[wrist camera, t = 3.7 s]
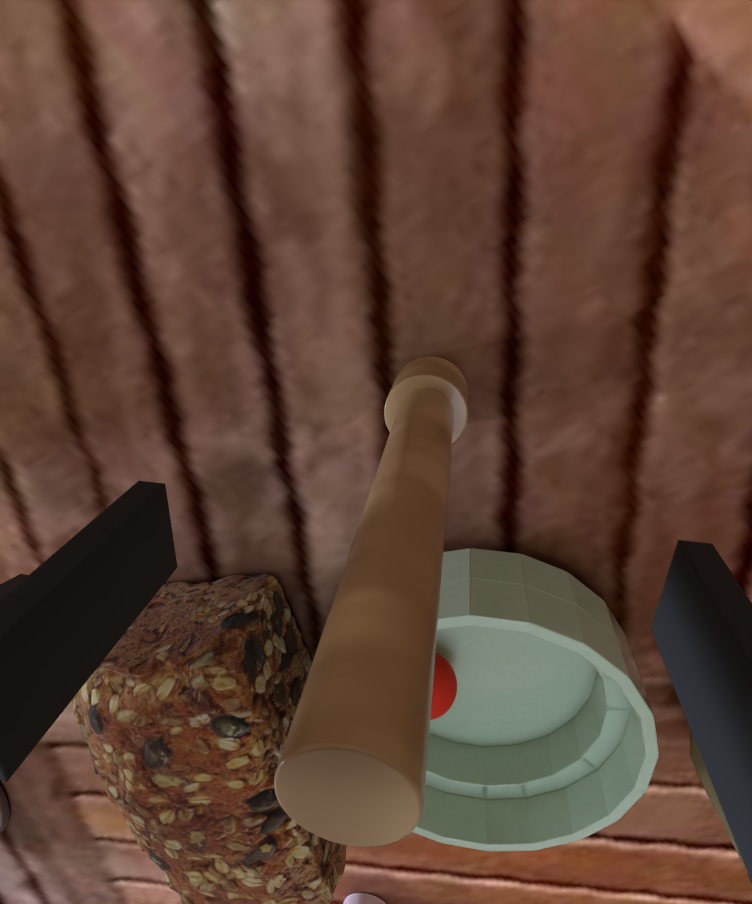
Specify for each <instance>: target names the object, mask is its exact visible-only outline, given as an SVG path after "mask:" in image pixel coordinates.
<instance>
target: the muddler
mask: <svg viewBox="0 0 752 904" xmlns="http://www.w3.org/2000/svg"><path fill="white" fill-rule="evenodd" d="M384 417H385V422H386V425H387V428H388V430H389V432H390V434H389V437H388V440H387V443H386V446H385V449H384V452H383V455H382V458H381V461H380V464H379V467H378V470H377V473H376V476H375V479H374V482H373V485H372V488H371V491H370V493H369V496H368V499H367V502H366V505H365V508H364V511H363V514H362V517H361V520H360V523H359V526H358V529H357V532H356V535H355V538H354V541H353V544H352V547H351V550H350V553H349V556H348V558H347V561H346V564H345V567H344V570H343V573H342V576H341V579H340V582H339V585H338V588H337V591H336V594H335V597H334V600H333V603H332V606H331V609H330V612H329V615H328V618H327V621H326V624H325V626H324V629H323V632H322V635H321V638H320V641H319V644H318V647H317V650H316V653H315V656H314V659H313V662H312V665H311V668H310V671H309V674H308V677H307V680H306V683H305V686H304V689H303V691H302V694H301V697H300V700H299V703H298V706H297V709H296V712H295V715H294V718H293V721H292V724H291V727H290V730H289V733H288V736H287V739H286V742H285V745H284V748H283V751H282V754H281V757H280V759H279V762H278V765H277V768H276V771H275V776H274V788H275V793H276V796H277V799H278V801H279V803H280V805H281V807H282V808H283V809H284V811H285V812H286V813H287V814H288V815H289V816H290V818H292V819H293V820H294V821H295V822H296V823H297V824H299V825H300V826H301V827H303V828H304V829H306V830H308V831H309V832H311V833H313V834H315V835H317V836H319V837H321V838H324V839H326V840H329V841H333V842H336V843H340V844H344V845H350V846H360V847H373V846H381V845H386V844H390V843H393V842H396V841H398V840H400V839H402V838H404V837H405V836H407V835H408V834H410V833H411V832H412V831H413V830H414V829H415V827H416V826H417V824H418V823H419V821H420V819H421V816H422V813H423V806H424V793H425V780H426V768H427V755H428V742H429V729H430V716H431V703H432V690H433V678H434V665H435V652H436V639H437V626H438V613H439V601H440V588H441V575H442V562H443V549H444V536H445V523H446V511H447V498H448V485H449V472H450V459H451V446H452V444H454V443H455V442H456V441H457V440H458V439H459V438H460V437H461V435H462V434H463V432H464V430H465V428H466V425H467V421H468V385H467V382H466V379H465V377H464V375H463V373H462V372H461V371H460V369H459V368H458V367H457V366H455V365H454V364H453V363H451V362H450V361H448V360H445V359H443V358H439V357H434V356H427V357H421V358H417V359H415V360H412V361H411V362H409V363H407V364H406V365H405V366H404V367H403V368H402V369H401V370H400V371H399V372H398V374H397V376H396V378H395V380H394V383H393V385H392V388H391V390H390V393H389V395H388V397H387V400H386V403H385V409H384Z"/></svg>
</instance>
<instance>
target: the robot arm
mask: <svg viewBox="0 0 752 904" xmlns="http://www.w3.org/2000/svg"><path fill="white" fill-rule="evenodd" d="M176 568H177V561H176V554H175V548H174V541H173V534H172V527H171V520H170V514H169V507H168V500H167V493H166V486H165V484H163V483H154V482H145V481H138V482H137V483H136V484H134V485H133V486H132V487H131V488H130V489H129V490H127V491H126V492H125V493H124V494H123V495H122V496H121V497H119V498H118V499H117V500H116V501H115V502H114V503H112V504H111V505H110V506H109V507H108V508H107V509H105V510H104V511H103V512H102V513H101V514H100V515H98V516H97V517H96V518H95V519H94V520H93V521H91V522H90V523H89V524H88V525H87V526H86V527H85V528H83V529H82V530H81V531H80V532H79V533H78V534H76V535H75V536H74V537H73V538H72V539H71V540H69V541H68V542H67V543H66V544H65V545H64V546H62V547H61V548H60V549H59V550H58V551H57V552H56V553H54V554H53V555H52V556H51V557H50V558H49V559H47V560H46V561H45V562H44V563H43V564H42V565H40V566H39V567H38V568H37V569H36V570H35V571H33V572H32V573H31V574H30V575H24V574H20V575H18V576H16V577H14V578H12V579H10V580H8V581H6V582H4V583H2V584H0V780H4V781H8V780H9V778H10V777H11V776H12V775H13V773H14V772H15V771H16V770H17V768H18V767H19V766H20V765H21V763H22V762H23V761H24V760H25V758H26V757H27V756H28V755H29V753H30V752H31V751H32V749H33V748H34V747H35V746H36V744H37V743H38V742H39V741H40V739H41V738H42V737H43V736H44V734H45V733H46V732H47V731H48V729H49V728H50V727H51V726H52V724H53V723H54V722H55V720H56V719H57V718H58V717H59V715H60V714H61V713H62V712H63V710H64V709H65V708H66V707H67V705H68V704H69V703H70V702H71V700H72V699H73V698H74V697H75V695H76V694H77V693H78V692H79V690H80V689H81V688H82V686H83V685H84V684H85V683H86V681H87V680H88V679H89V678H90V676H91V675H92V674H93V673H94V671H95V670H96V669H97V668H98V666H99V665H100V664H101V663H102V661H103V660H104V659H105V657H106V656H107V655H108V654H109V652H110V651H111V650H112V649H113V647H114V646H115V645H116V644H117V642H118V641H119V640H120V639H121V637H122V636H123V635H124V634H125V632H126V631H127V630H128V629H129V627H130V626H131V625H132V623H133V622H134V621H135V620H136V618H137V617H138V616H139V615H140V613H141V612H142V611H143V610H144V608H145V607H146V606H147V605H148V603H149V602H150V601H151V600H152V598H153V597H154V596H155V594H156V593H157V592H158V591H159V589H160V588H161V587H162V586H163V584H164V583H165V582H166V581H167V579H168V578H169V577H170V576H171V574H172V573H173V572H174V571H175V569H176ZM651 631H652V633H653V636H654V638H655V641H656V643H657V646H658V648H659V651H660V653H661V656H662V658H663V661H664V663H665V666H666V668H667V671H668V673H669V676H670V679H671V681H672V684H673V686H674V689H675V691H676V694H677V696H678V699H679V701H680V704H681V706H682V709H683V711H684V714H685V716H686V719H687V721H688V724H689V726H690V729H691V731H692V734H693V737H694V739H695V742H696V744H697V747H698V749H699V752H700V754H701V757H702V759H703V762H704V764H705V767H706V769H707V772H708V774H709V777H710V779H711V782H712V784H713V787H714V789H715V792H716V794H717V797H718V800H719V802H720V805H721V807H722V810H723V812H724V815H725V817H726V820H727V822H728V825H729V827H730V830H731V832H732V835H733V837H734V840H735V842H736V845H737V847H738V850H739V852H740V855H741V858H742V860H743V863H744V865H745V868H746V870H747V873H748V875H749V878H750V880H751V883H752V603H751V601H750V600H749V598H748V597H747V595H746V594H745V592H744V591H743V589H742V588H741V586H740V585H739V583H738V582H737V580H736V579H735V577H734V576H733V574H732V573H731V571H730V570H729V568H728V567H727V565H726V564H725V562H724V561H723V559H722V558H721V556H720V555H719V553H718V552H717V550H716V549H715V547H714V546H713V544H708V543H699V542H690V541H681V540H678V543H677V546H676V549H675V552H674V555H673V559H672V562H671V565H670V568H669V572H668V575H667V578H666V581H665V584H664V588H663V591H662V594H661V597H660V601H659V604H658V607H657V610H656V613H655V617H654V620H653V623H652V626H651ZM8 820H9V805H8V801H7V798H6V796H5V794H4V792H3V790H2V788H1V786H0V834H1V832H2V831H3V830H4V828H5V827H6V825H7V823H8Z"/></svg>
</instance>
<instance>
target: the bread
mask: <svg viewBox="0 0 752 904" xmlns="http://www.w3.org/2000/svg"><path fill="white" fill-rule="evenodd" d="M311 665H312V661H311V658H310V655H309V651H308V649H307V648H306V646H305V645H304V644H303V642H302V639H301V633H300V631H299V630H298V629H297V625H296V621H295V618H294V617H293V616H292V615H291V614H290V608H289V606H288V604H287V601H286V599H285V597H284V594H283V591H282V588H281V586H280V584H279V582H278V580H277V579H276V578H274V577H273V576H271V575H267V574H258V575H256V576H254V577H252V578H251V577H248V576H243V575H237V574H236V575H232V576H228V577H225V578H222V579H220V580H217V581H215V582H204V583H201V584H189V583H185V582H174V583H168V584H163V586H162V587H161V588H160V589H159V591H158V592H157V593H156V594H155V596H154V597H153V598H152V600H151V601H150V602H149V603H148V605H147V606H146V607H145V608H144V610H143V611H142V612H141V613H140V615H139V616H138V617H137V618H136V620H135V621H134V622H133V623H132V625H131V626H130V627H129V629H128V630H127V631H126V632H125V634H124V635H123V636H122V637H121V639H120V640H119V641H118V642H117V644H116V645H115V646H114V647H113V649H112V650H111V651H110V652H109V654H108V655H107V656H106V657H105V659H104V660H103V661H102V663H101V664H100V665H99V666H98V668H97V669H96V670H95V671H94V673H93V674H92V675H91V676H90V678H89V679H88V680H87V681H86V683H85V684H84V685H83V686H82V688H81V689H80V690H79V692H78V693H77V694H76V695H75V697H74V702H73V711H74V715H75V718H76V722H77V723H78V724H79V725H80V728H81V734H82V739H83V740H84V741H85V742H86V743H87V744H88V745H89V749H90V753H91V756H92V760H93V764H94V768H95V772H96V774H98V775H99V776H100V778H101V781H102V783H103V786H104V788H105V790H106V793H107V795H108V797H109V799H110V800H111V802H112V803H113V804H114V805H115V806H116V807H117V808H118V809H119V810H120V811H121V812H122V814H123V815H124V817H125V819H126V821H127V823H128V827H129V828H130V829H131V832H132V833H134V835H135V838H136V840H137V844H138V847H139V848H140V850H142V851H145V852H147V853H148V855H149V857H150V859H151V860H152V861H153V862H155V863H156V864H157V865H158V866H159V867H160V868H161V869H162V870H163V872H164V875H165V878H166V881H167V883H170V887H169V888H170V889H172V890H174V891H176V892H177V893H179V895H180V897H181V901H182V904H329V903H330V902H331V901H332V899H333V893H334V890H335V888H336V885H337V883H338V881H339V880H340V878H341V876H342V875H343V873H344V868H345V859H346V845H344V844H340V843H336V842H333V841H329V840H326V839H324V838H321V837H319V836H317V835H315V834H313V833H311V832H309V831H308V830H306V829H304V828H303V827H301V826H300V825H299V824H297V823H296V822H295V821H294V820H293V819H292V818H290V816H289V815H288V814H287V813H286V812H285V811H284V809H283V808H282V807H281V805H280V803H279V801H278V799H277V796H276V793H275V788H274V776H275V771H276V768H277V765H278V762H279V759H280V757H281V754H282V751H283V748H284V745H285V742H286V739H287V736H288V733H289V730H290V727H291V724H292V721H293V718H294V715H295V712H296V709H297V706H298V703H299V700H300V697H301V694H302V691H303V689H304V686H305V683H306V680H307V677H308V674H309V671H310V668H311Z"/></svg>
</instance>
